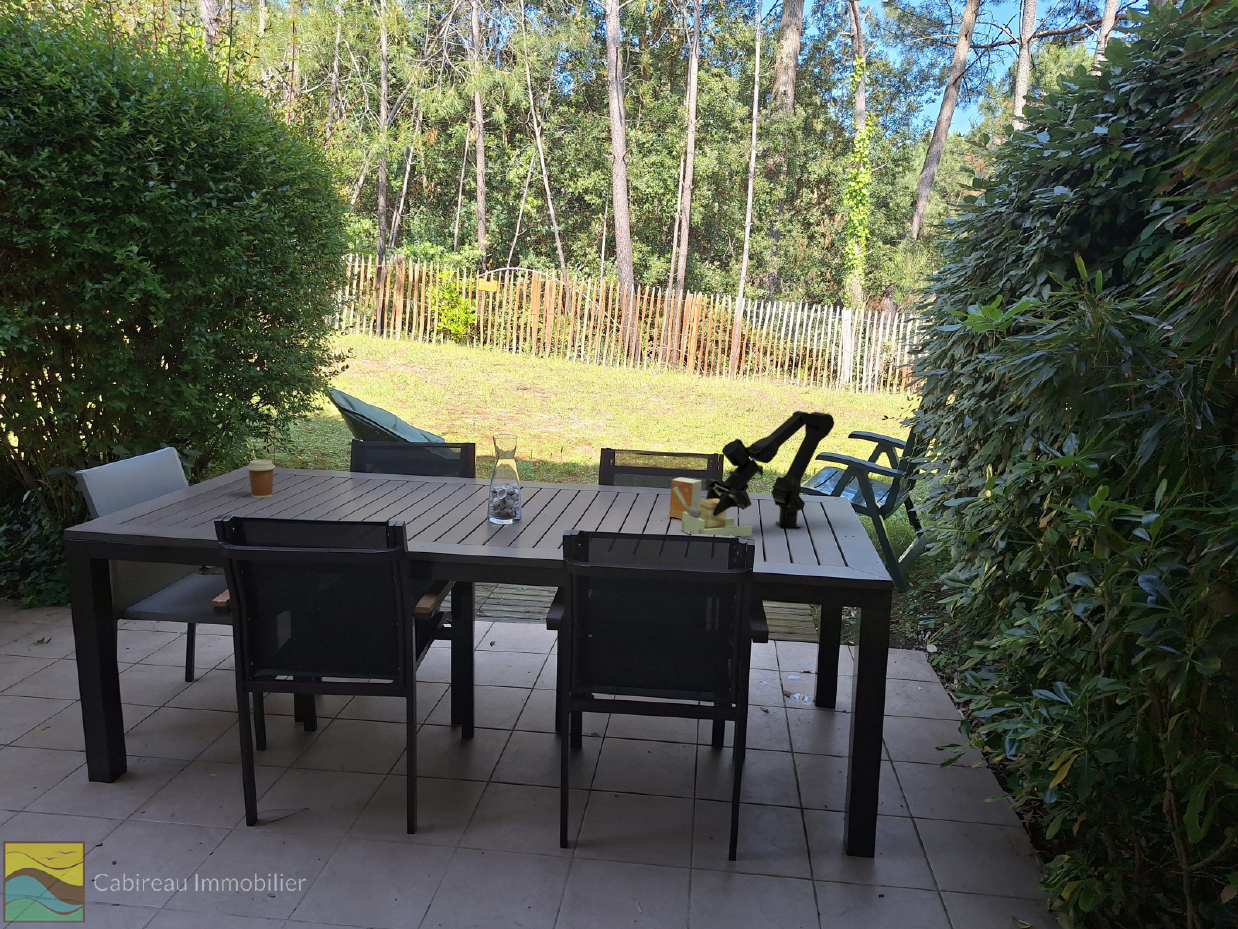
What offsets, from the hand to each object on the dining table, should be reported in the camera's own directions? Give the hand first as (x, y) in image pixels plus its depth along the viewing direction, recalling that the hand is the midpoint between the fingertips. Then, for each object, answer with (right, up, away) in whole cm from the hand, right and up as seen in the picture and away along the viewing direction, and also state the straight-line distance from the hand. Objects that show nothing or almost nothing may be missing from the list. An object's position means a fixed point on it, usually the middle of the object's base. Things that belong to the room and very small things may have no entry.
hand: (708, 513), depth 271 cm
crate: (+1, -6, +2) cm, 7 cm away
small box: (-6, -3, +20) cm, 21 cm away
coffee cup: (-149, +4, +30) cm, 153 cm away
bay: (+3, -6, +2) cm, 7 cm away
